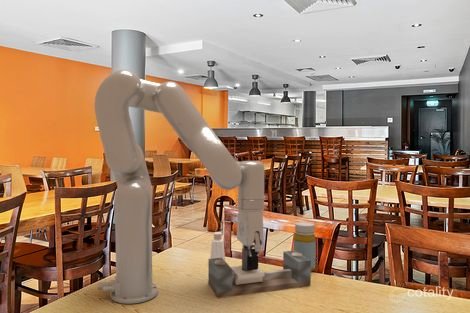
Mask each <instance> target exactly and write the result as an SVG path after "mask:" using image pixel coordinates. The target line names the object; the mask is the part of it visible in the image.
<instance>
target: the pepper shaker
mask: <svg viewBox="0 0 470 313" xmlns="http://www.w3.org/2000/svg"><path fill="white" fill-rule="evenodd" d="M222 234H223V233H222V232H221V231H215V232H213V239H212V240H211V248H210V258H209V259H213V258H223V260H224V261H225V262H226V253H225V245H224V244H225V243H224V240H223V235H222Z"/></svg>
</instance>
